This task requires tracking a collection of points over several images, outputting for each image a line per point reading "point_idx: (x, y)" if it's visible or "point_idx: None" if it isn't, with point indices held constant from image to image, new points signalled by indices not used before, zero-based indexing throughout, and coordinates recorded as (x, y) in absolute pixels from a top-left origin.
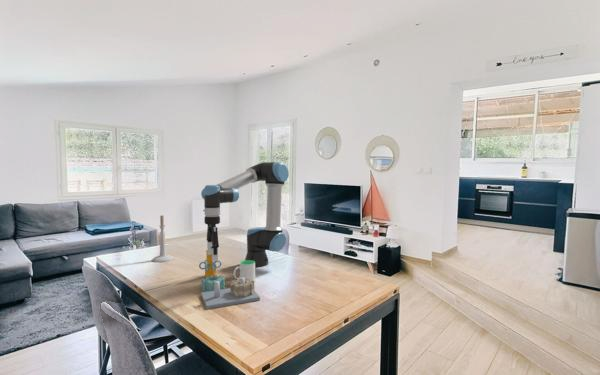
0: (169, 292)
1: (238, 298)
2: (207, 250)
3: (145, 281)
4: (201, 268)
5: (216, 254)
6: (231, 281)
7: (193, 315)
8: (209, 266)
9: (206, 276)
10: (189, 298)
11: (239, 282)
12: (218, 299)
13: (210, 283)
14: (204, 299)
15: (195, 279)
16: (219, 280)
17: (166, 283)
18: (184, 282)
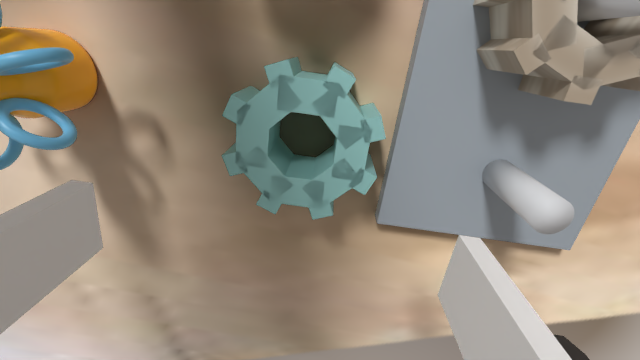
0: (253, 310)
1: None
2: (42, 287)
3: (67, 351)
4: (19, 147)
5: (564, 346)
6: (525, 72)
7: (570, 296)
8: (15, 94)
9: (82, 105)
10: (377, 264)
11: (570, 5)
12: (540, 179)
13: (369, 184)
14: (484, 236)
15: (102, 170)
16: (363, 120)
17: (123, 296)
18: (136, 230)
